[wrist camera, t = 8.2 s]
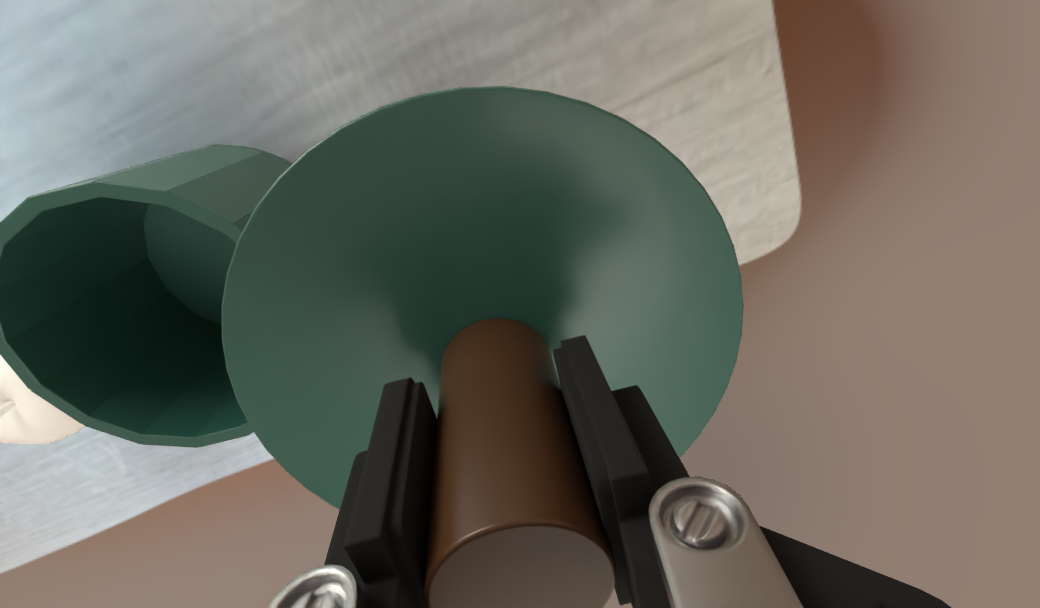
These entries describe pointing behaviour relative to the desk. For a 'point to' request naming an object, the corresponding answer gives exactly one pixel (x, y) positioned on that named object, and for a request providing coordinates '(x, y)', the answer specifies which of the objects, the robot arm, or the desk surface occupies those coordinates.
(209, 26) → the desk surface
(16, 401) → the plain white apple
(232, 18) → the desk surface
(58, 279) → the pot
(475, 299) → the lid
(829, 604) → the robot arm
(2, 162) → the desk surface
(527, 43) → the desk surface
